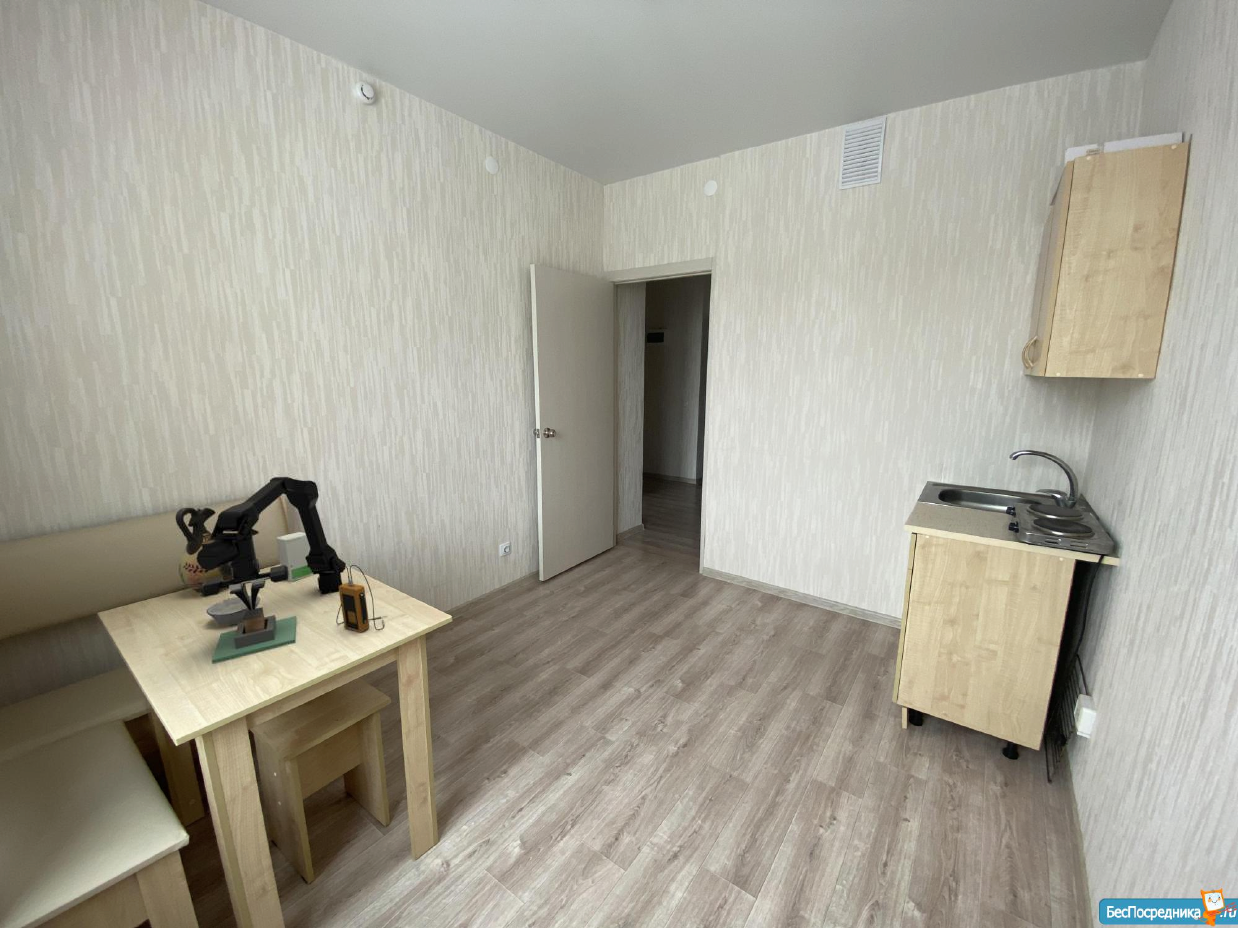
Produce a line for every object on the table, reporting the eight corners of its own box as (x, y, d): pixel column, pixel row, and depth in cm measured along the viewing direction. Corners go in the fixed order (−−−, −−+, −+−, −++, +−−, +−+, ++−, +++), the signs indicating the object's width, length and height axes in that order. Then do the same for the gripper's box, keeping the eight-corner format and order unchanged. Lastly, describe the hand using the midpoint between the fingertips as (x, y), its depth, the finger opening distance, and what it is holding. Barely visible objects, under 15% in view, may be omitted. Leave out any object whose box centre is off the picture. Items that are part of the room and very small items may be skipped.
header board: (296, 618, 153) (294, 606, 152) (295, 642, 139) (293, 629, 139) (221, 636, 144) (218, 623, 143) (212, 663, 130) (209, 649, 130)
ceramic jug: (213, 579, 185) (197, 499, 179) (251, 580, 183) (236, 499, 177) (166, 601, 168) (147, 513, 163) (207, 602, 166) (189, 513, 160)
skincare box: (290, 582, 180) (283, 540, 177) (281, 579, 183) (274, 537, 180) (315, 574, 187) (309, 533, 184) (305, 570, 190) (299, 530, 187)
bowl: (198, 627, 150) (194, 611, 149) (239, 607, 162) (236, 592, 161) (232, 631, 147) (229, 615, 146) (272, 610, 159) (269, 596, 158)
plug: (266, 629, 145) (262, 606, 144) (265, 638, 140) (261, 614, 139) (249, 634, 143) (245, 610, 141) (247, 642, 138) (243, 618, 137)
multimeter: (399, 619, 151) (391, 555, 147) (371, 635, 142) (361, 567, 138) (364, 610, 157) (356, 548, 153) (335, 626, 148) (325, 560, 144)
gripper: (284, 540, 148) (293, 590, 151) (203, 553, 139) (214, 607, 142) (283, 551, 139) (292, 604, 142) (196, 566, 130) (207, 623, 133)
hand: (252, 609), depth 140 cm, fingers closed
